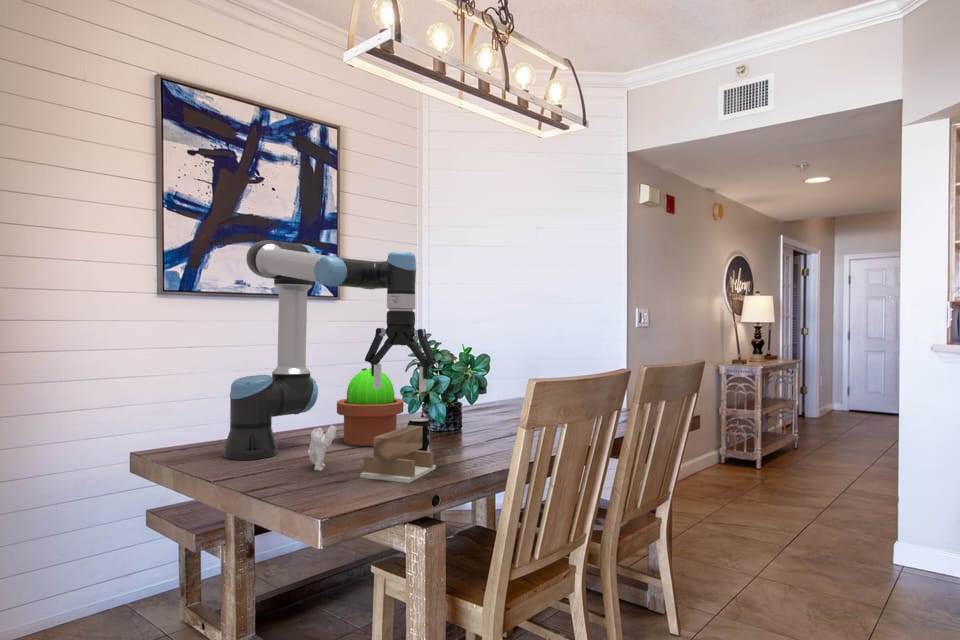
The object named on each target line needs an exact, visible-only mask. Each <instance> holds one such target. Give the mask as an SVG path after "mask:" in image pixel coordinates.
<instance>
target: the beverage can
mask: <svg viewBox="0 0 960 640" xmlns="http://www.w3.org/2000/svg"><path fill="white" fill-rule="evenodd" d="M429 420H430V419H429V418H427V417H411V418H409V419H408V423H407V426H409V425H412V426H423V434H422V448H420V449H418V450H419V451H430V452H431V423H430V421H429Z"/></svg>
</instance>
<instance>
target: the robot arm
mask: <svg viewBox="0 0 960 640" xmlns="http://www.w3.org/2000/svg"><path fill="white" fill-rule="evenodd" d="M245 260H246V265H247V267H248V269H249V270H250V271H251V272H252V273H253V274H254V275H256V276H258V277H261V278H265V279H273V287H275V288H276V289H277V290H278V321H277V327H278V328H277V330H278V331H277V362H276V363H277V364H276V368H275V369H274V370H273V371H272V374H271V375H270V374H257V375H248V376H243V377H239V378H236V379H235V380H233V382H231V385H230V392H229V393H230V394H229V398H230V400H229V401H230V402H229V403H230V405H229V406H230V411H229V432H228V435H227V438H226V441H225V446H224V447H223V455H222V456H223V458H224V459H227V460H236V461H250V460H252V461H253V460H260V459H267V458H270V457H274V456H276V455H277V454H278V444H277V442H276V438H275V435H274V432H273V429H272V424H273V423H272V422H273V421H272V420H273V417H275V418H276V417H279V416H280V417H282V416H288V415H289V416H291V415H299V414H302V413H306V412H310V410H311V409H312V408H313V407H314V406H315V405H316V402H317V401H318V400H317V399H318V396H319V395H318V394H319V387H318V384H317V381H316V380H315V378H314V377H312V376H311V371H310V370H309V369H308V368H307V365H306V364H307V363H306V362H307V357H306V356H307V322H308V321H307V320H308V319H307V316H308V315H307V314H308V311H307V310H308V309H307V308H308V291H309V290H310V289H311V288H313V282H315V283H319V284H320V285H322V286H326V287H341V288H342V287H344V288H346V287H347V288H357V289H359V288H361V289H364V290H377V289H379V290H381V289H386V309H388V311H386V328H384V327H377V328H376V329H375V334H374V335H375V336H374V338H373V339H372V342H371V344H370V347H369V349H368V351H367V353H366V355H365V358H364V362H367V363H370V369H371V375H372V376H374V389H379V388H381V372H382V364H381V363H380V362H381V360H382V359H383V358H384V357H385V356H386V354H387V353H388V352H389V350H390V349H391V348H392V347H393V346H407V347H408V348H409V349H410V351H411V352H412V353H413V354H414V356H415V357H416V358H417V360H418V361H419V363H420V364H421V366H419V373H418V375H419V376H418V377H419V381H418V388H419V389H418V392H419V393H424V392H427V380H429V379H430V371H431V370H430V367H431V366H433V365H436V364H437V359H436V357H435V353H434V352H433V349H432V348H431V345H430V342H429V341H428V338H427V332H426V329H425V328H418V329H415V325H416V312H415V311H413V310H415V309H416V279H417V278H416V277H417V264H416V255H415V254H414V253H412V252H407V251H392V252H388V254H387V258H386V260H380V261H376V260H375V261H373V260H365V259H364V260H363V259H355V258H347V257H340V256H334V255H333V256H332V255H326V254H325V255H324V254H319V253H318V252H316V250H315V249H314V248H313V246H310V245H307V244H302V243H295V242H287V241H278V240H277V241H276V240H272V239H271V240H270V239H267V240H260V241H257V242H255V243H254V244H253V245H251V246H250V248H249V249H248V250H247V252H246V259H245ZM385 336H387V338H386V339H385V341H384V342H383V345H381V343H382V341H383V340H384V337H385ZM415 336H416V337H417V338H418V341H419V342H418V343H419V344H420V346H421V348H420V346H419V345H418V343H417V342H416V340H415V339H414V338H415ZM380 346H381V347H380ZM379 347H380V349H379ZM421 349H422V350H423V351H422V350H421Z"/></svg>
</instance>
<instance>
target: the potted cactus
mask: <svg viewBox="0 0 960 640" xmlns="http://www.w3.org/2000/svg"><path fill="white" fill-rule="evenodd" d="M349 381H350V382H349V383H348V385H347V388H346V391H345V392H344V393H345V394H346V395H344V396H345V397H346V398H341V399H339V400H337V401H336V413H337V414H338V415H339V416H343V442H344V444H347V445H348V446H349V445H350V446H355V447H358V446H359V447H374V437H377V436H380V435H383V434H386V433H389V432H392V431H395V430H397V415H400V414H403V413H404V405H405V404H404V402H405V401H404V400H403V399H401V398H398V397H395V384H394V383H393V381H392V380H391V379H390V377H388V374H386V373H385V372H383V371H381V388H379V389H374V376H372V375H371V368H366V367H364V368H361V369H360V371H359V372H357V373H356V374H355V375H354V376H352V378H351V379H350V380H349Z"/></svg>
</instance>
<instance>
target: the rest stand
mask: <svg viewBox="0 0 960 640" xmlns="http://www.w3.org/2000/svg"><path fill="white" fill-rule="evenodd" d="M436 469H437V465H436V464H434V451H431V450H430V451H419V450H416V451H413V452H411V453H409V454H407V455H404V456H402V457H400V458H397V459H395V460H393V461H390V462H388V463H384V462H375V461H373V455H365V456H363V471H362V472H360V476H359V477H360V478H362V479H371V480H380V481H388V482H396V483H397V482H398V483H406V484H409V483H411V482H414V481H415V480H417V479H419V478H421V477H423V476H425V475H426V474H428V473H430V472H432V471H434V470H436Z"/></svg>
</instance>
